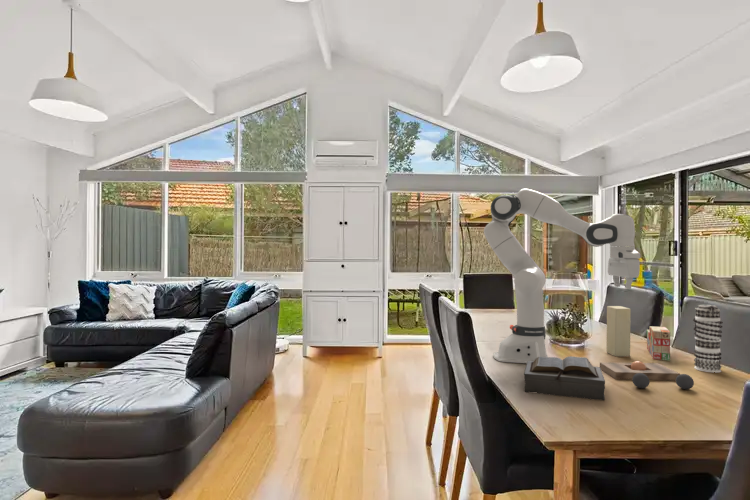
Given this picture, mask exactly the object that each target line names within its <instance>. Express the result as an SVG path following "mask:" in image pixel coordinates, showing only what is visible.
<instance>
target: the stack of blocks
mask: <svg viewBox="0 0 750 500" xmlns="http://www.w3.org/2000/svg"><path fill="white" fill-rule="evenodd" d="M646 349H647V352H648V353H649V354H650V356H651V358H652V360H659V361H660V360H661V361H671V331H670V330H669V329H668V327H666V326H653V325H652V326H650V325H649V329H646Z"/></svg>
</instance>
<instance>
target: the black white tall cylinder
mask: <svg viewBox="0 0 750 500" xmlns="http://www.w3.org/2000/svg"><path fill="white" fill-rule="evenodd" d="M694 309H695V316H694V318H693V319H692V321H693V322H694V323H693V331H695V332H694V333H693V336H694V339H695V346H694V347H695V349H694V351H693V353H694V357H695V358H694V359H693V361H694V363H693V365H694V370H697V371H699V372H704V373H705V372H706V373H714V372H715V373H717V374H718V373H722V370H721V369H722V361H721V360H722V357H721V356H722V353H721V347H720V346H721V342H722V339H721V338H722V333H723V331H722V330H721V329H722V328H723V325H722V324H723V321H722V320H721V314H720V313H721V309H719V308H718V306H717V305H714V304H697V306H696V307H695V308H694Z"/></svg>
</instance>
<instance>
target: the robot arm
mask: <svg viewBox="0 0 750 500" xmlns="http://www.w3.org/2000/svg"><path fill="white" fill-rule="evenodd" d="M490 214H491V219H492V220H491V221H490V222H488V223H487V224H486V225H485V226H484V229H483V234H484V237H485V240H486V241H487V243H488V245H489V246H490V248H491V249H492V251H493V252H494V254H495V255H496V257H497V259H498V260H499V261H500V262H501V264H502V265H503V267H505V268H506V269H507V270H508V271H509V272H510V273H511V275H512V276H513V277H514V279H513V280H514V281H513V282H514V294H515V301H516V302H515V303H516V324H515V325H514V324H510V325H509V329H510V330H511V334H509V335H508V336H507V337H505V338H504V339H502V340H501V341H500V343H499V346H498V350H497V351H495V352H493V355H492V357H493V358H494V359H495V360H496V361H498V362H503V363H518V364H527V361H535V359H536V358H538V357H549V356H548V354H547V348H546V334H547V333H546V326H545V305H544V297H543V296H544V295H543V288H544V287H545V285H546V281H547V280H546V279H547V278H546V275H545V273H544V272H543V270H542V269H541V268H540V267H539V265H538V264H537V263H536V262H535V260H534V259H533V258H532V257H531V255H529V253H528V252H527V251H526V250H525V248H524V247H523V245H521V244H522V243H520V241H519V240H518V238H517V237H516V236H515V235H514V233H513V232H512V230H511V229H510V225H511V224H512V223H513V222H514V220H515V219H516V216H517V215H518V214H519V215H520V214H523V215H526V216H529V217H530V218H533V219H534V220H537V221H539V222H542V223H546V224H551V225H555V226H559V227H562V228H564V229H567V230H569V231H571V232H572V233H574V234H576V235H579V236H580V237H582V239H583V240H584V242H586V243H587V244H588V245H589V246H591V247H594V248H595V247H596V248H597V247H598V248H599V247H602V246H605V245H607V244H608V245H609V249H610V250H609V254H610V255H609V257H610V258H609V259H608V262H607V274H608V276H612V279H613V284H614V287H616V288H619V287H621V282H620V277H621V278H625V284H624V289H625V290H631V289H632V284H633V281H634V279H638V278H639V276H640V270H641V269H640V265H641V262H640V259H641V258H642V257H641V256H642V255H641V253H640V252H639V251H637V249H636V245H635V236H636V232H635V231H636V228H635V220H634V218H633V217H632V216H630V215H629V214H623V213H614V214H611V215H610V216H609V217H607V218H604V219H603V220H600V221H597V222H593V223H591V222H587V221H586V220H583V219H581V218H579V217H577V216H575V215H573V214H572V213H570V212H568V211H567V210H566V209H565V208H564V207H563V206H562V204H561V203H560V202H559V201H558V200H556V199H554V198H553V197H551V196H549V195H547V194H544V193H543V192H539V191H538V190H535V189H534V190H533V189H529V188H521V189H520V190H519V191H518V192H516V194H503V195H499V196H497V197H495V198H494V199H493V200H492V201H491V204H490Z"/></svg>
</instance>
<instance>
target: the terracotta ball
mask: <svg viewBox="0 0 750 500" xmlns="http://www.w3.org/2000/svg"><path fill="white" fill-rule="evenodd" d="M631 363H632V364H631V369H632V370H646V366H645V364H644V362H643V361H640V360H635V361H633V362H631Z"/></svg>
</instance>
